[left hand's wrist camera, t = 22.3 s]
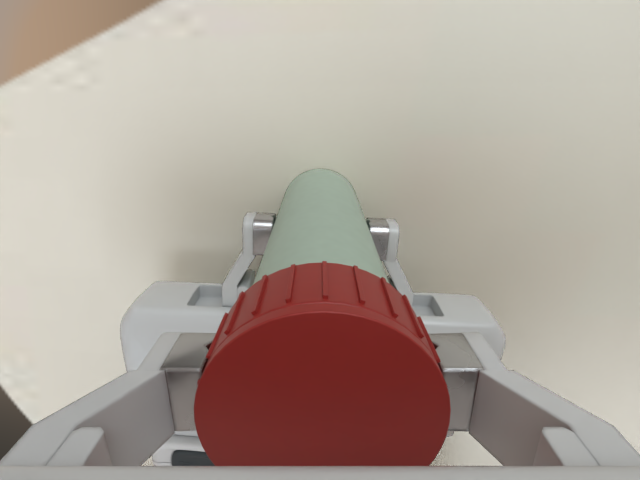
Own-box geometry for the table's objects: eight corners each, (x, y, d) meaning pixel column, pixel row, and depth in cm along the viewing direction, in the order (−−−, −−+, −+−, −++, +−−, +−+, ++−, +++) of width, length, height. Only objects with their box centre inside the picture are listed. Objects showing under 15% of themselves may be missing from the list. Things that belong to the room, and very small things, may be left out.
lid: (185, 287, 10) (146, 342, 8) (406, 235, 9) (433, 278, 7) (254, 447, 12) (238, 529, 10) (439, 411, 11) (469, 489, 9)
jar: (329, 253, 26) (345, 498, 10) (269, 215, 25) (183, 420, 9) (372, 196, 25) (467, 376, 9) (309, 153, 24) (290, 269, 8)
